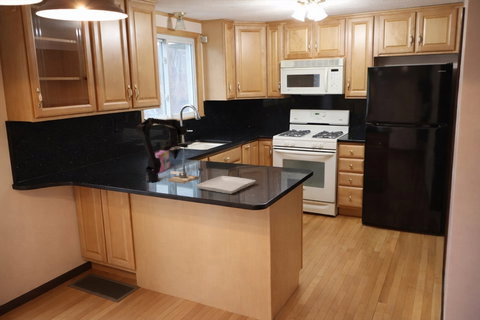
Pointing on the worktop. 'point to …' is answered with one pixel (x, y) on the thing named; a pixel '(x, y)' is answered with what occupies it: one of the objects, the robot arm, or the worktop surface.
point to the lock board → (183, 179)
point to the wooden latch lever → (180, 174)
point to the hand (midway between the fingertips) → (175, 158)
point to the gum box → (163, 159)
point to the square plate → (226, 184)
